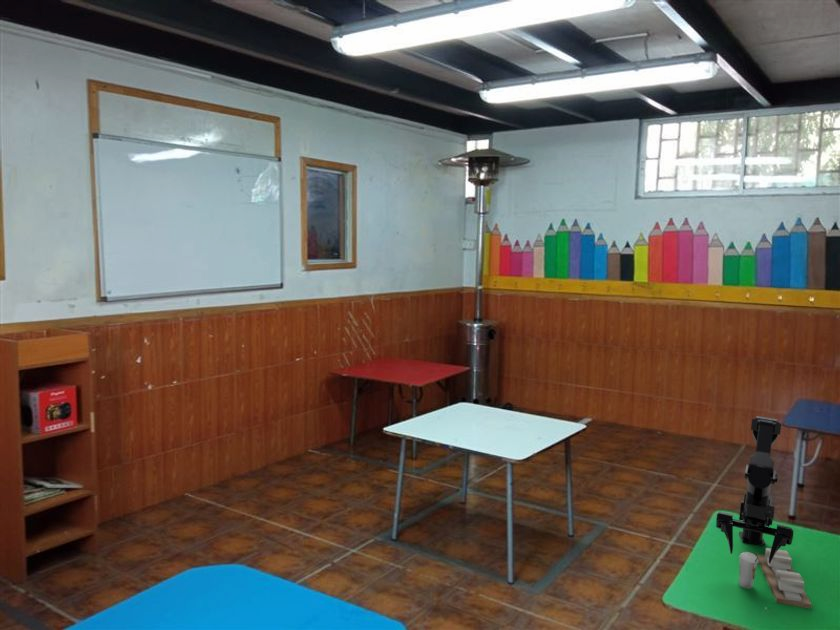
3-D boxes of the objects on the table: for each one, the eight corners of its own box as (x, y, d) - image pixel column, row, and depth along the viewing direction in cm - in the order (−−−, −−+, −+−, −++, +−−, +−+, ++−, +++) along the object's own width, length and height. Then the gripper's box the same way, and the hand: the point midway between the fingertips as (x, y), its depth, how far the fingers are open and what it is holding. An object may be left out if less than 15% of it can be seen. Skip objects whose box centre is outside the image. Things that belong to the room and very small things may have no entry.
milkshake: (746, 592, 178) (751, 557, 177) (732, 582, 183) (736, 547, 182) (761, 590, 179) (765, 555, 178) (746, 580, 184) (750, 546, 183)
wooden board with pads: (756, 557, 197) (758, 541, 196) (786, 562, 195) (789, 546, 194) (776, 602, 174) (778, 584, 173) (811, 608, 172) (813, 590, 171)
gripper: (720, 483, 187) (712, 537, 179) (797, 499, 178) (792, 556, 170) (720, 500, 195) (712, 552, 187) (793, 516, 186) (788, 571, 178)
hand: (750, 557), depth 180 cm, fingers open, 9 cm apart
